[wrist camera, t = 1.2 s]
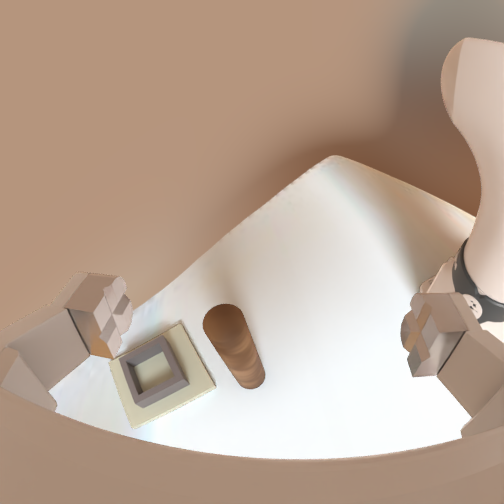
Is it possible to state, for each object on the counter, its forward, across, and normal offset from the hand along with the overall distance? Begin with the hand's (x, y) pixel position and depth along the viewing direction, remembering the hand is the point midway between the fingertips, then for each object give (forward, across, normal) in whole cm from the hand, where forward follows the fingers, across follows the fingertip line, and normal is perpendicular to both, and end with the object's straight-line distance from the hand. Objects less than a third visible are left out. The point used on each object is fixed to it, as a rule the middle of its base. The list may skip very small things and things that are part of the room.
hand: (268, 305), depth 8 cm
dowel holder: (+18, +16, +33) cm, 40 cm away
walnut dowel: (+18, +2, +30) cm, 35 cm away
